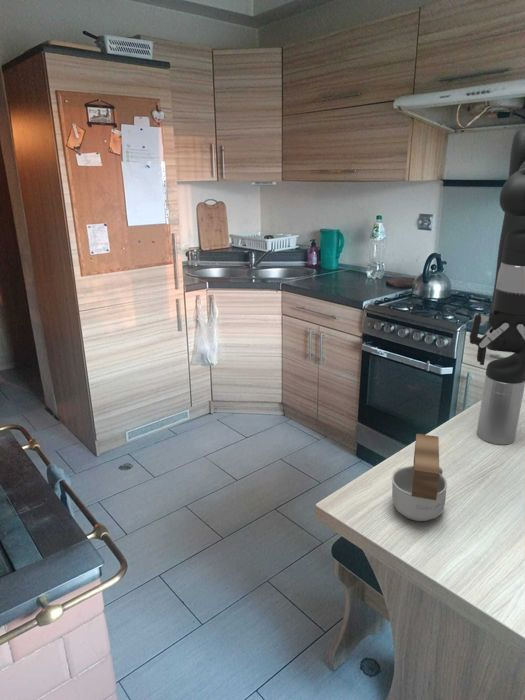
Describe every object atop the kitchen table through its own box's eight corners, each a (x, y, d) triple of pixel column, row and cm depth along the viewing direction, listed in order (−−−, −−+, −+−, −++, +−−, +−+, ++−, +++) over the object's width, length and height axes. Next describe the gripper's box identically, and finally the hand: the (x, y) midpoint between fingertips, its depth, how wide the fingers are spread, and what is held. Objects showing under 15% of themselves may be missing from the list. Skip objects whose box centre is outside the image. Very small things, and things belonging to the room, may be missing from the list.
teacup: (418, 536, 97) (422, 502, 94) (378, 506, 105) (380, 474, 102) (464, 510, 103) (469, 478, 101) (423, 484, 112) (426, 453, 109)
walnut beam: (413, 457, 108) (416, 433, 106) (435, 460, 107) (438, 436, 105) (411, 496, 96) (414, 470, 93) (436, 500, 94) (439, 473, 92)
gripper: (557, 284, 94) (541, 363, 100) (476, 280, 99) (466, 355, 105) (564, 294, 87) (547, 377, 93) (477, 289, 92) (466, 369, 98)
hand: (504, 366), depth 99 cm, fingers open, 8 cm apart
